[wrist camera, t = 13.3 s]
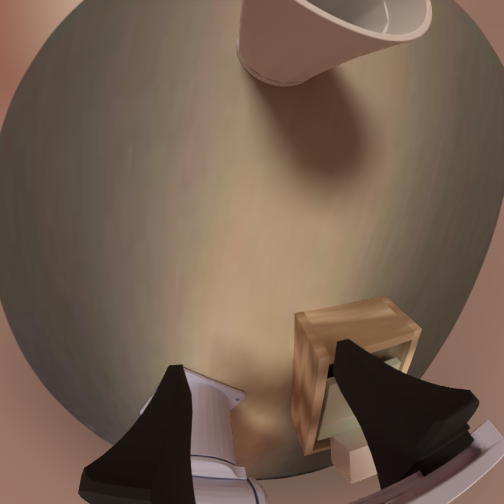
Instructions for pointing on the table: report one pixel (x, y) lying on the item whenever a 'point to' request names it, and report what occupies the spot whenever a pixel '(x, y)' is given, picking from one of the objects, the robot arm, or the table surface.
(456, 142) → the table surface
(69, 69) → the table surface
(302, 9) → the cup
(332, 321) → the box
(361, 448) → the pinkish beige block
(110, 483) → the robot arm
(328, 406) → the pale grey flat block
